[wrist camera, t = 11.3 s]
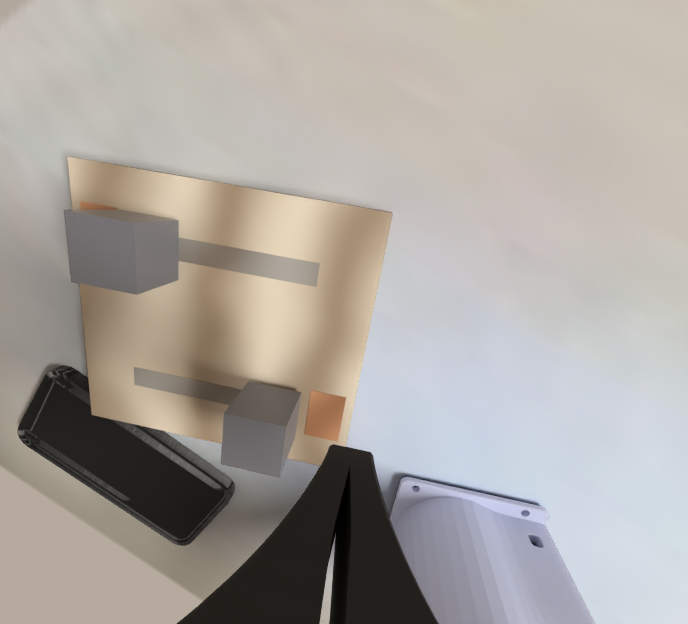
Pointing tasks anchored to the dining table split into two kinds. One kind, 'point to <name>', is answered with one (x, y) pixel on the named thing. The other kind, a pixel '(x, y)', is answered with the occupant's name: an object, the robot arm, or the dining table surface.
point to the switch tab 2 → (260, 428)
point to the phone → (124, 460)
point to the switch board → (233, 306)
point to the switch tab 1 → (122, 249)
